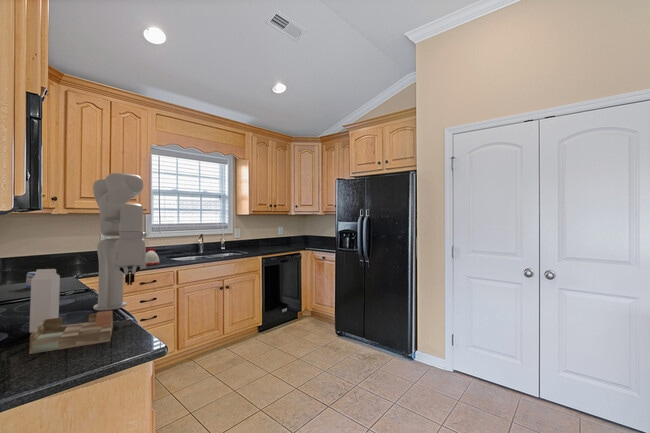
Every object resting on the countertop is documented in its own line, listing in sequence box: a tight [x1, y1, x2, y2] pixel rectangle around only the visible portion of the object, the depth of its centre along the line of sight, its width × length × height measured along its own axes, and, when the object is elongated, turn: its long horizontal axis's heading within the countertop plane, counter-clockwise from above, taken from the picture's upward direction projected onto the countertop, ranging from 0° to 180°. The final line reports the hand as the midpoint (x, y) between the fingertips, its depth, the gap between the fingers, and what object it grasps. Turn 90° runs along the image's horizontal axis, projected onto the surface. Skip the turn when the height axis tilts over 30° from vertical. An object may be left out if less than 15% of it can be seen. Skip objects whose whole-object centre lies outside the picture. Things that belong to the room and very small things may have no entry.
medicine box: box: [25, 271, 36, 289], centre depth 175 cm, size 8×4×9 cm, turn 76°
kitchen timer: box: [145, 247, 160, 266], centre depth 272 cm, size 14×14×15 cm
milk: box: [29, 268, 61, 333], centre depth 113 cm, size 6×6×22 cm
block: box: [96, 310, 113, 327], centre depth 112 cm, size 4×4×4 cm
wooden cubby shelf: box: [28, 310, 114, 355], centre depth 105 cm, size 17×20×6 cm
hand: (129, 284), depth 116 cm, fingers closed
